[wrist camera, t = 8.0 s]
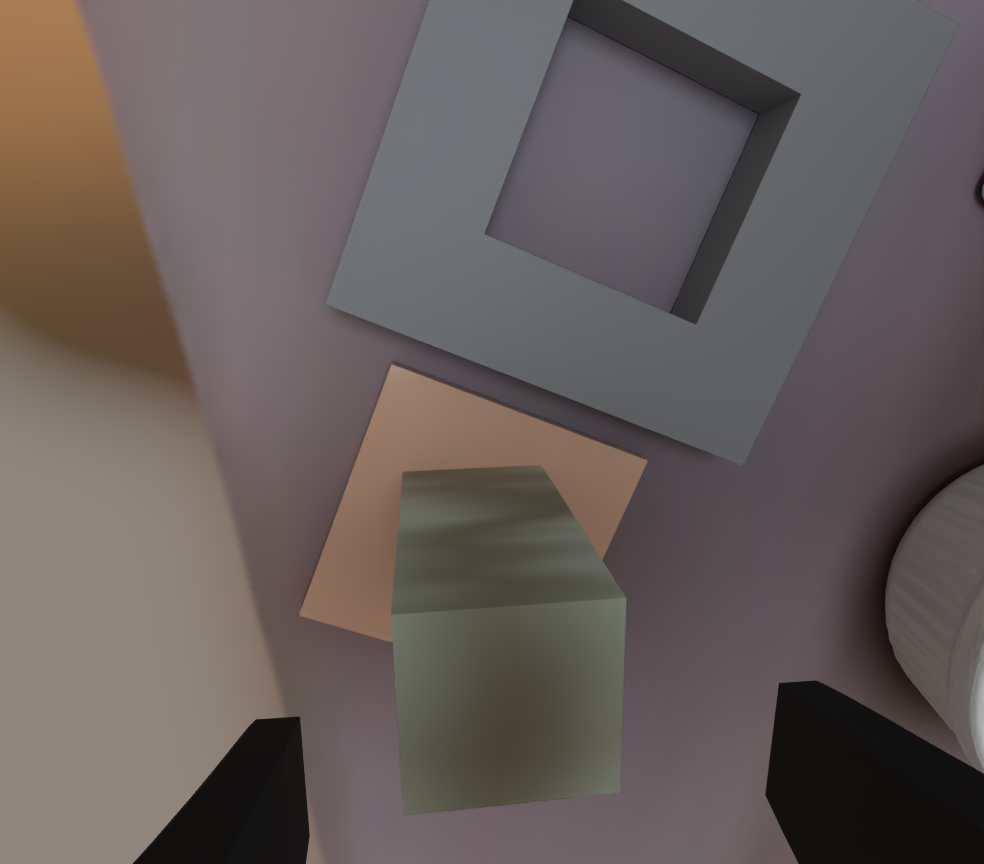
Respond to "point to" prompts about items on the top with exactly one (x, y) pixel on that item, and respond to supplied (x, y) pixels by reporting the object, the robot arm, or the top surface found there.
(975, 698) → the ramekin
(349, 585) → the coaster
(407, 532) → the sage block
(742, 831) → the top surface
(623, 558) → the top surface
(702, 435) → the pocket board
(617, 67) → the top surface
